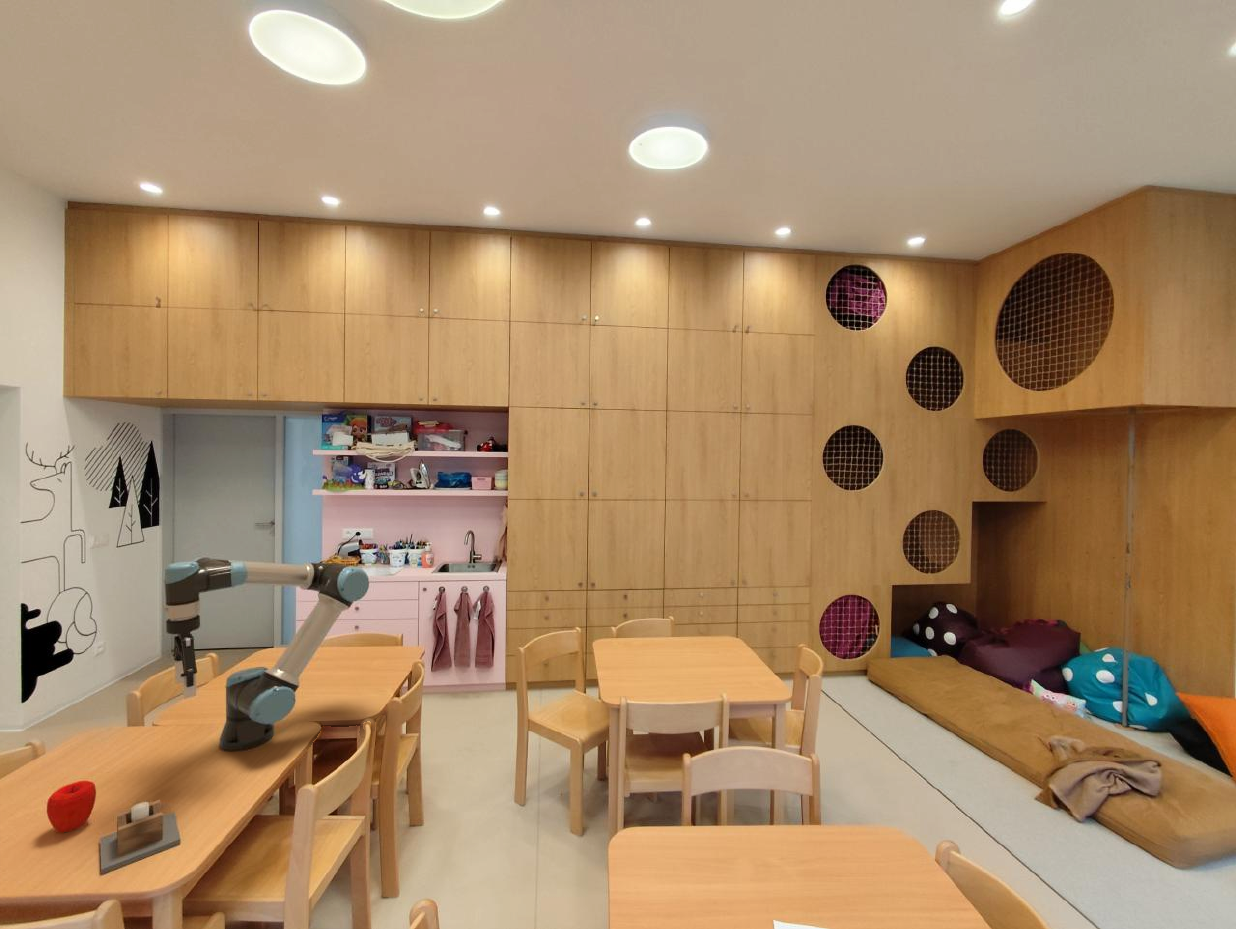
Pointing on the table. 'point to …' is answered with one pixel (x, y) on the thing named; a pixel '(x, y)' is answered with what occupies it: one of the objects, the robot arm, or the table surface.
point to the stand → (114, 861)
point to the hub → (139, 829)
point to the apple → (71, 805)
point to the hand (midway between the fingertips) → (185, 689)
